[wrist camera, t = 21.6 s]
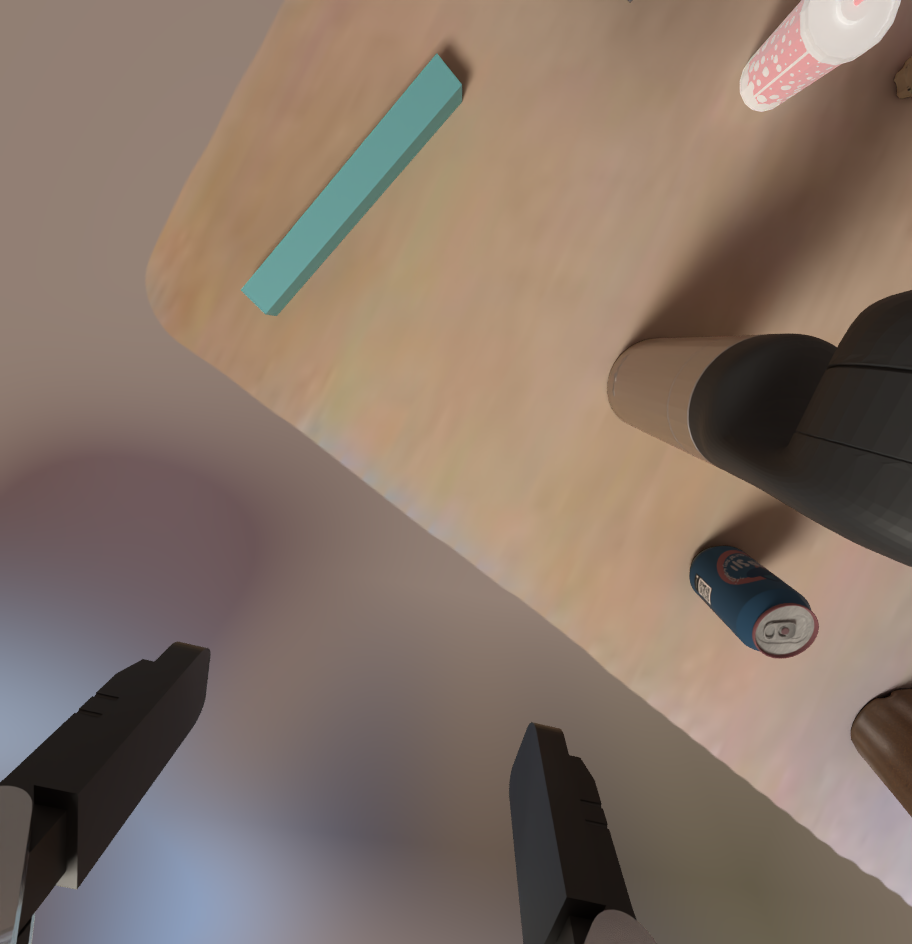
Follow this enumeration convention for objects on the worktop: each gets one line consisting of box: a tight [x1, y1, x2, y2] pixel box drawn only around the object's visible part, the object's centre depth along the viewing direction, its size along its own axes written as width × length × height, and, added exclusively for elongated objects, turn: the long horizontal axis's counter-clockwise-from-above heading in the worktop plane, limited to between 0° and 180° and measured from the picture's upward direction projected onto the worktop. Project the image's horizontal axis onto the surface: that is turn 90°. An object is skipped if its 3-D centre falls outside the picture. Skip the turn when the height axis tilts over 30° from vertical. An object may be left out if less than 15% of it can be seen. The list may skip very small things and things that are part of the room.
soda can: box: [690, 546, 819, 658], centre depth 46 cm, size 7×7×12 cm
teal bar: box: [241, 54, 462, 316], centre depth 40 cm, size 26×3×3 cm, turn 134°
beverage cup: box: [740, 0, 901, 112], centre depth 31 cm, size 6×6×14 cm
